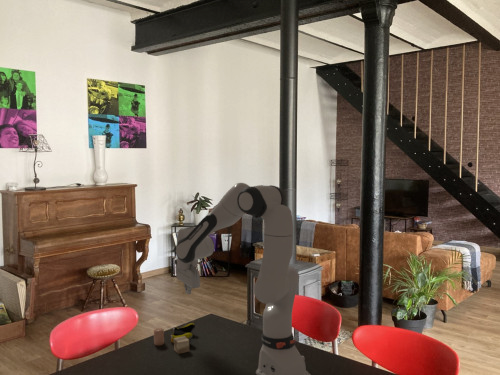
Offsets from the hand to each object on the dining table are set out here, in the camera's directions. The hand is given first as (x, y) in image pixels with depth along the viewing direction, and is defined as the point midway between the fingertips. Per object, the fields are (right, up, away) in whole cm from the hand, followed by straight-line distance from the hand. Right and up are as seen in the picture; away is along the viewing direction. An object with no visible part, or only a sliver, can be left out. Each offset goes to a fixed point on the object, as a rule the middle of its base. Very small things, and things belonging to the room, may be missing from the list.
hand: (188, 293), depth 206 cm
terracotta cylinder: (-13, -22, -3) cm, 25 cm away
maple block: (-1, -22, -10) cm, 24 cm away
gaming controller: (-3, -22, +1) cm, 22 cm away
